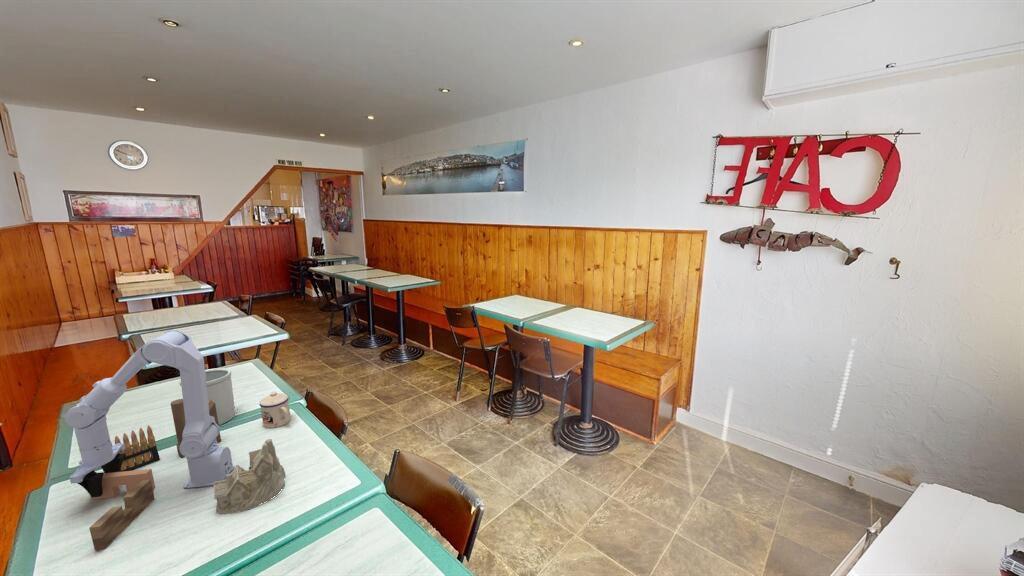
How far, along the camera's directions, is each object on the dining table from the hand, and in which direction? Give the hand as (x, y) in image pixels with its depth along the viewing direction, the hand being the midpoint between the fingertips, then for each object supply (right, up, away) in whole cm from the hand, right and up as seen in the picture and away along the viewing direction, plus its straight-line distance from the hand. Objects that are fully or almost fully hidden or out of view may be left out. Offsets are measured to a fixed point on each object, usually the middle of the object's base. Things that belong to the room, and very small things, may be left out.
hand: (105, 489), depth 106 cm
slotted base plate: (+15, -4, -9) cm, 18 cm away
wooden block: (+8, +2, +22) cm, 23 cm away
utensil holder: (-1, +6, +39) cm, 40 cm away
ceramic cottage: (+39, -2, +2) cm, 39 cm away
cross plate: (+4, -2, +1) cm, 4 cm away
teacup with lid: (+26, +5, +36) cm, 45 cm away
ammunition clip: (-3, 0, +12) cm, 12 cm away
